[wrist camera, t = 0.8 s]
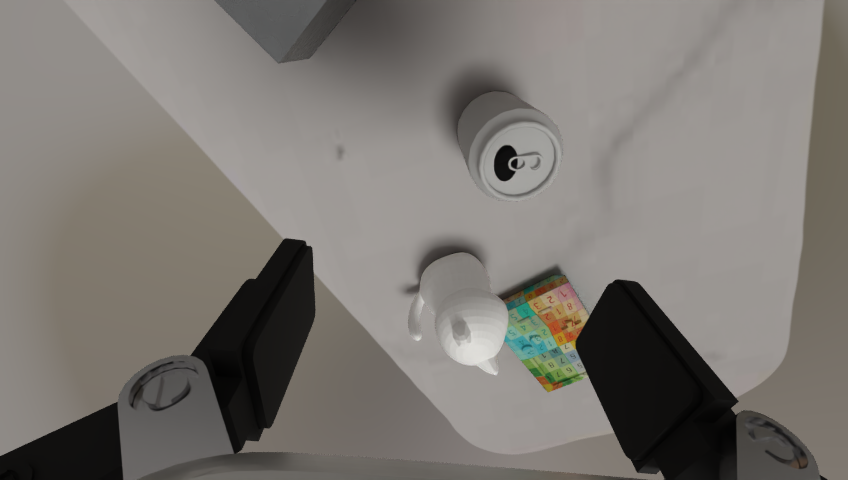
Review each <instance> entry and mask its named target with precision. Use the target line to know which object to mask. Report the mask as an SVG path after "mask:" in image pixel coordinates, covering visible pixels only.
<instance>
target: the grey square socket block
mask: <svg viewBox="0 0 848 480" xmlns="http://www.w3.org/2000/svg"><path fill="white" fill-rule="evenodd" d="M215 1H216V2H217V3H218V4H219V5H220V6H221V7H222V8H223V9H224V10H225V11H226V12H227V13H228V14H229V15H230V16H231V17H232V18H233V19H234V20H235V21H236V22H237V23H238V24H239V25H240V26H241V27H242V28H243V29H244V30H245V31H246V32H247V33H248V34H249V35H250V36H251V37H252V38H253V39H254V40H255V41H256V42H257V43H258V44H259V45H260V46H261V47H262V48H263V49H264V50H265V51H266V52H267V53H268V54H269V55H270V56H271V57H272V58H273V59H274V60H275V61H276V62H277V63H278V64H279V63H285V62H291V61H297V60H302V59H308V58H310V57H311V56H312V55H313V53H314V52H315V51H316V50H317V48H318V47H319V46H320V45H321V43H322V42H323V41H324V40H325V38H326V37H327V36H328V35H329V33H330V32H331V31H332V30H333V29H334V27H335V26H336V25H337V24H338V22H339V21H340V20H341V19H342V17H343V16H344V15H345V14H346V12H347V11H348V10H349V9H350V7H351V6H352V5H353V4H354V2H355V1H356V0H215Z"/></svg>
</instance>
